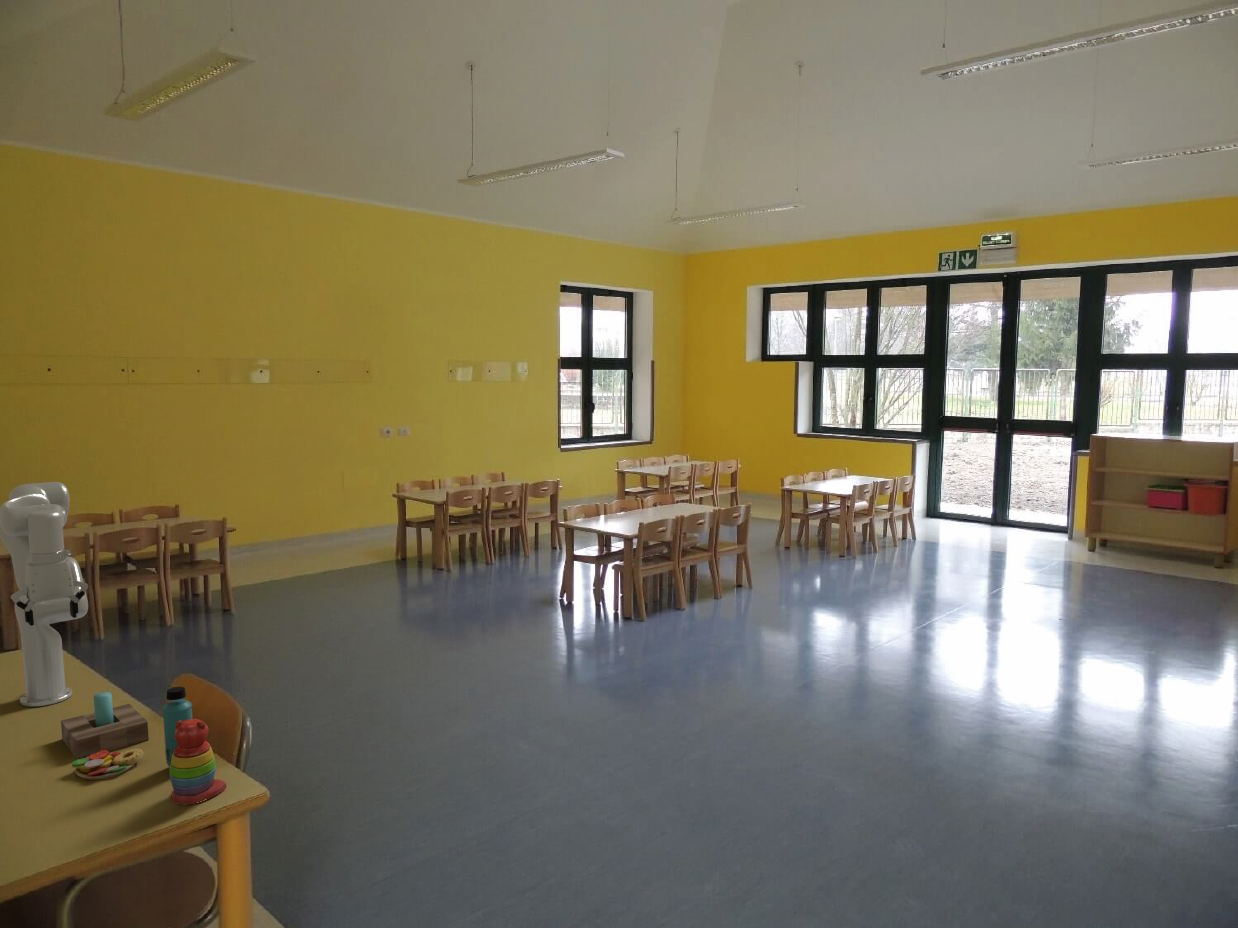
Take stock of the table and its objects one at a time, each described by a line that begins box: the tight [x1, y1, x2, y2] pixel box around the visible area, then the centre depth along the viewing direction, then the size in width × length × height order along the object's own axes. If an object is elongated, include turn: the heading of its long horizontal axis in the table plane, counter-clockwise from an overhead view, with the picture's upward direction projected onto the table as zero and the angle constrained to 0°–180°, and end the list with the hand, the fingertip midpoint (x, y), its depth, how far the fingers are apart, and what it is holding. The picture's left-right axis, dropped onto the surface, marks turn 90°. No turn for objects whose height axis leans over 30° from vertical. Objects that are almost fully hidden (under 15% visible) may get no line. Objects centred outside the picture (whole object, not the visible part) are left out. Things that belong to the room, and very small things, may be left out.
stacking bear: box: [168, 718, 227, 805], centre depth 196 cm, size 11×10×18 cm
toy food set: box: [71, 748, 145, 781], centre depth 210 cm, size 13×13×3 cm
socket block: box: [60, 703, 150, 760], centre depth 225 cm, size 16×16×5 cm
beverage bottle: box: [162, 686, 193, 768], centre depth 209 cm, size 6×7×20 cm
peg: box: [93, 691, 114, 727], centre depth 225 cm, size 4×4×12 cm
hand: (52, 620), depth 230 cm, fingers open, 9 cm apart
